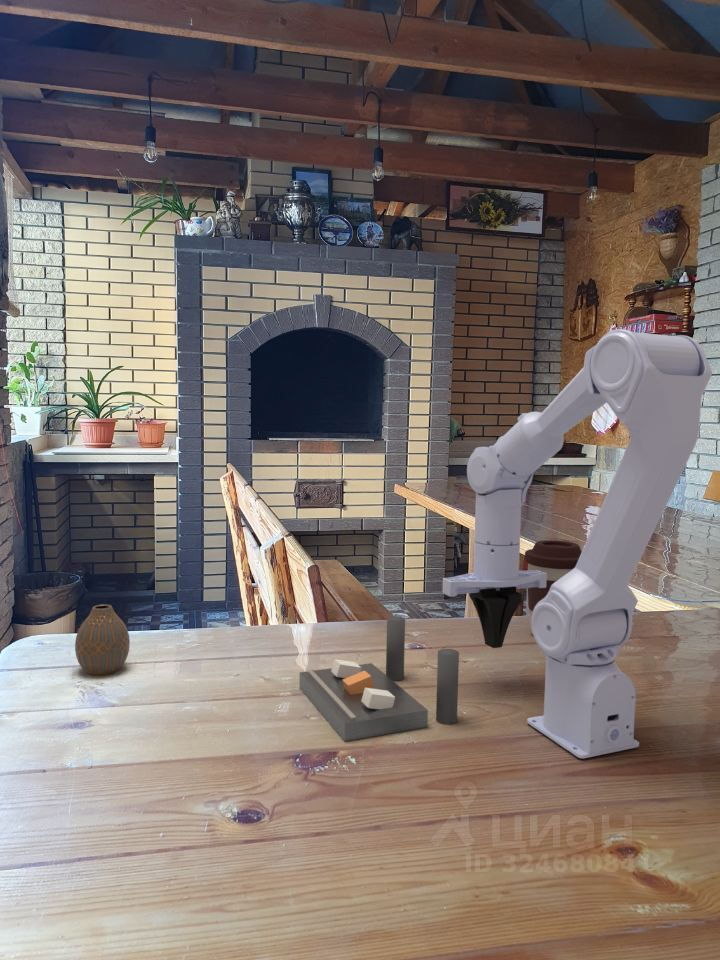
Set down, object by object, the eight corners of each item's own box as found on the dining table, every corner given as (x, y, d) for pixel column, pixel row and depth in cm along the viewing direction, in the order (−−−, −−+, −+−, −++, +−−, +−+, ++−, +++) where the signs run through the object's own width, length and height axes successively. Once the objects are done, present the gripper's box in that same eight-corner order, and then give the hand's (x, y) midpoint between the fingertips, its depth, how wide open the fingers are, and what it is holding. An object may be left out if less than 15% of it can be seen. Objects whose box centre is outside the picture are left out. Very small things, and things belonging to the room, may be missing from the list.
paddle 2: (391, 710, 80) (395, 697, 80) (368, 708, 78) (371, 694, 79) (384, 704, 82) (387, 690, 82) (361, 701, 80) (364, 687, 80)
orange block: (374, 688, 84) (371, 676, 84) (351, 697, 83) (348, 685, 83) (367, 682, 86) (364, 670, 86) (345, 691, 85) (342, 679, 85)
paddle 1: (358, 679, 89) (361, 667, 89) (336, 676, 88) (339, 664, 88) (352, 674, 91) (355, 662, 91) (331, 671, 90) (334, 659, 90)
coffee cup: (593, 646, 109) (598, 550, 107) (529, 644, 109) (533, 548, 108) (575, 626, 119) (579, 538, 117) (516, 625, 119) (519, 537, 117)
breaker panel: (427, 727, 79) (428, 707, 79) (344, 741, 76) (344, 720, 75) (371, 677, 94) (371, 660, 94) (299, 687, 90) (299, 670, 90)
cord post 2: (460, 722, 81) (462, 654, 80) (442, 725, 80) (444, 656, 79) (450, 714, 83) (452, 647, 82) (432, 717, 82) (434, 650, 81)
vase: (138, 662, 98) (137, 601, 98) (116, 681, 92) (115, 614, 91) (90, 660, 99) (89, 598, 98) (65, 678, 92) (64, 612, 91)
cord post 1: (406, 679, 94) (408, 620, 93) (390, 681, 93) (391, 622, 92) (399, 673, 96) (400, 615, 95) (382, 675, 95) (384, 617, 94)
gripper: (525, 534, 97) (521, 630, 98) (431, 539, 91) (429, 642, 92) (558, 542, 90) (554, 646, 91) (460, 549, 85) (456, 659, 86)
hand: (493, 645), depth 91 cm, fingers closed
